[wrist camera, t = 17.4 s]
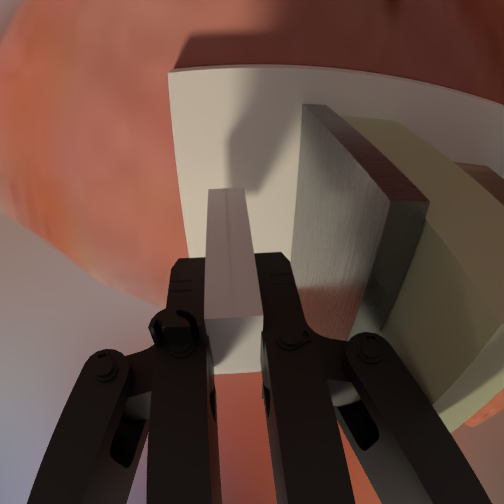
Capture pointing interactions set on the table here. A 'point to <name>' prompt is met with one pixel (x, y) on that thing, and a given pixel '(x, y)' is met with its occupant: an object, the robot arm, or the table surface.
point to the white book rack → (289, 131)
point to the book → (447, 279)
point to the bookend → (350, 227)
